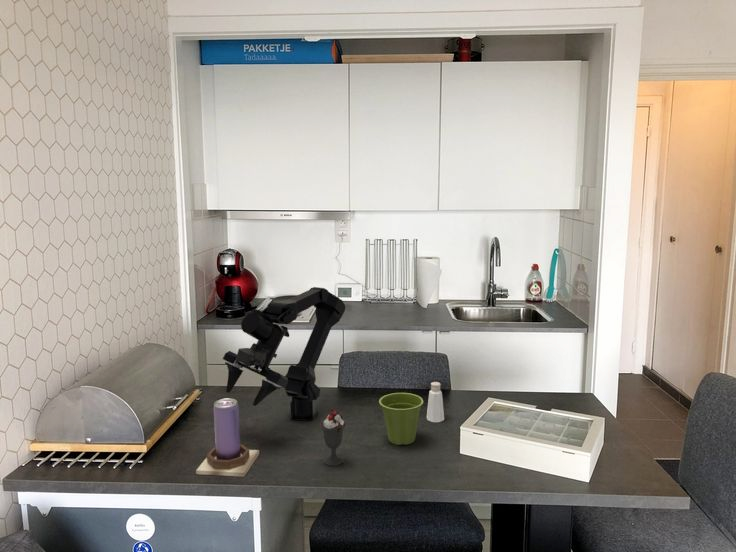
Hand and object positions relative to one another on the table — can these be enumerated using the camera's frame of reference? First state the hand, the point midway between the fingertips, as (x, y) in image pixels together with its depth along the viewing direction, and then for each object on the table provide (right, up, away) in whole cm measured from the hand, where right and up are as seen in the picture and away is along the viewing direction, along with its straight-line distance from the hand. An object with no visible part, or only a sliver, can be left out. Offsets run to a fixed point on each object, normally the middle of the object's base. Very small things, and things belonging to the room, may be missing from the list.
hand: (240, 398), depth 160 cm
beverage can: (-1, -14, -9) cm, 16 cm away
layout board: (-1, -15, -9) cm, 17 cm away
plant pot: (+43, -12, +4) cm, 45 cm away
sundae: (+25, -14, -8) cm, 30 cm away
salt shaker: (+54, -10, +17) cm, 57 cm away
